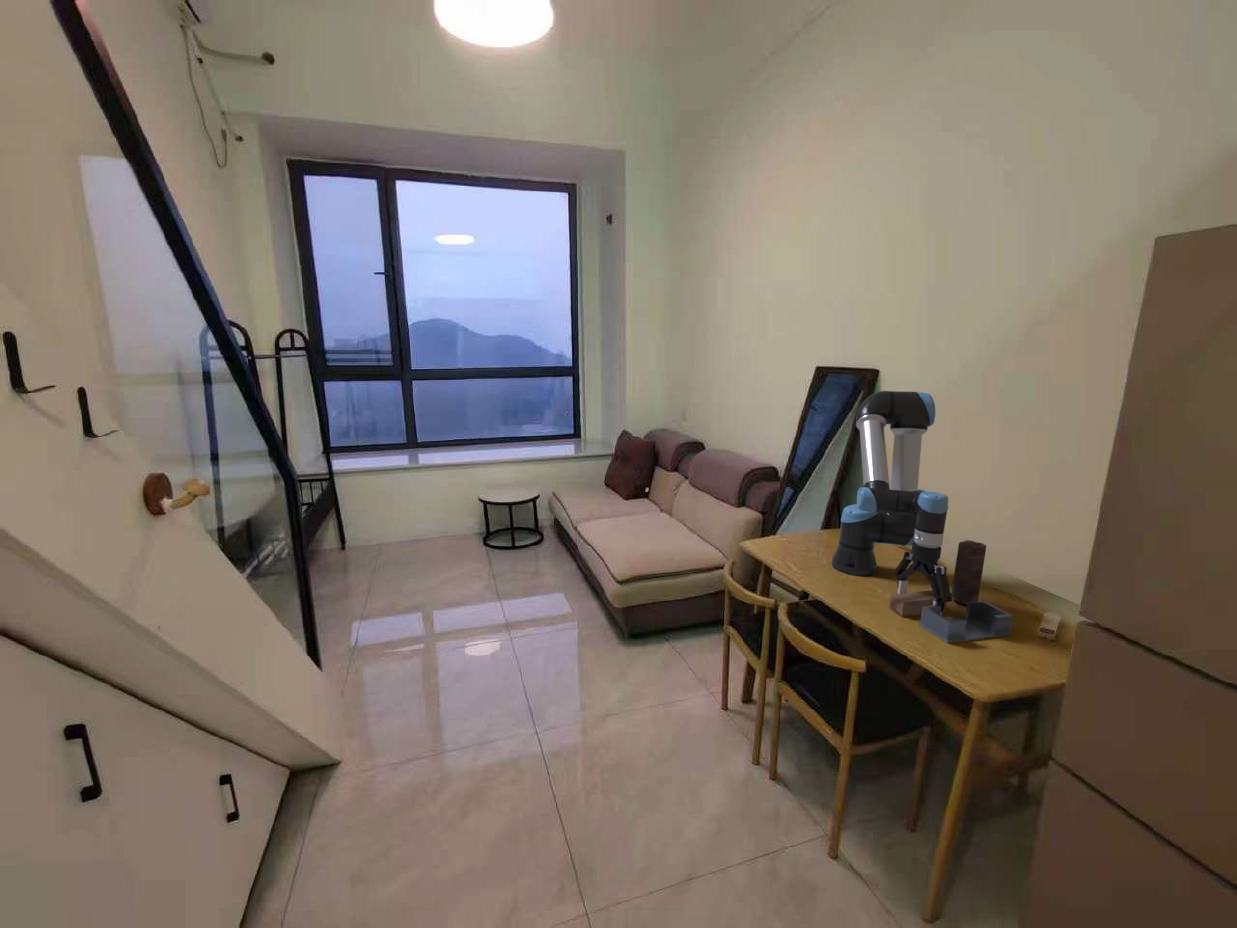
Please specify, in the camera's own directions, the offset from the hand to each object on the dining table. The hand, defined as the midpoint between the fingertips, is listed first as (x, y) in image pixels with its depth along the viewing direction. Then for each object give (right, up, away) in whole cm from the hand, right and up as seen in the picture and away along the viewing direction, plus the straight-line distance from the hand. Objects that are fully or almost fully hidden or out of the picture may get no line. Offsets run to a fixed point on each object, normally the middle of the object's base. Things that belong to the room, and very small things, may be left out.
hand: (917, 610), depth 162 cm
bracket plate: (+7, -3, -11) cm, 13 cm away
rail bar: (0, 0, 0) cm, 1 cm away
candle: (+18, +1, +6) cm, 19 cm away
